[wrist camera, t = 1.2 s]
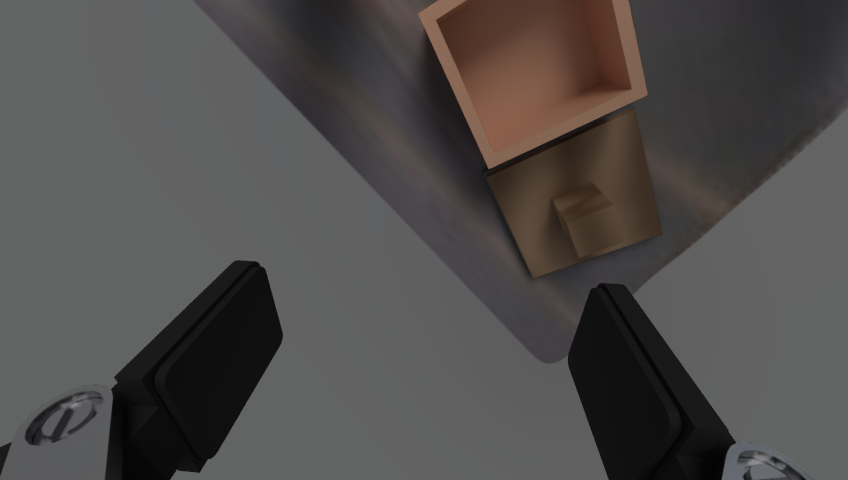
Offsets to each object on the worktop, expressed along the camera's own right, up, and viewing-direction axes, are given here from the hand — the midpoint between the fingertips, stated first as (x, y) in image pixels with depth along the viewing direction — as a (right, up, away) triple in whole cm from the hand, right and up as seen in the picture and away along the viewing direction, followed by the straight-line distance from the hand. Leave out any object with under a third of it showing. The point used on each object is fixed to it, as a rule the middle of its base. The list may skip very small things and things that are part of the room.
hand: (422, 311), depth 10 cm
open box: (+8, +17, +16) cm, 25 cm away
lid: (+14, +6, +22) cm, 26 cm away
